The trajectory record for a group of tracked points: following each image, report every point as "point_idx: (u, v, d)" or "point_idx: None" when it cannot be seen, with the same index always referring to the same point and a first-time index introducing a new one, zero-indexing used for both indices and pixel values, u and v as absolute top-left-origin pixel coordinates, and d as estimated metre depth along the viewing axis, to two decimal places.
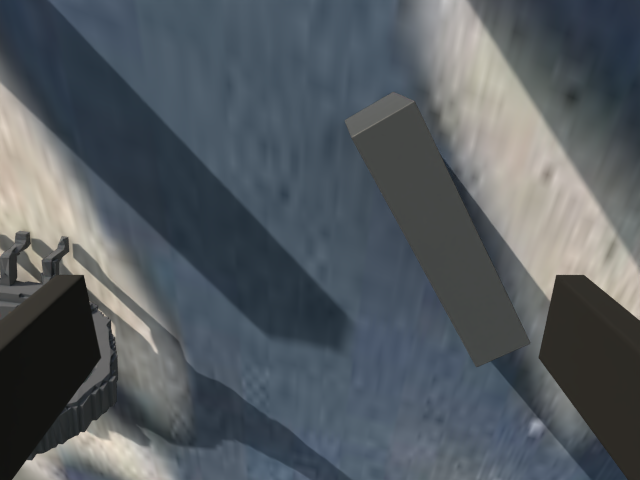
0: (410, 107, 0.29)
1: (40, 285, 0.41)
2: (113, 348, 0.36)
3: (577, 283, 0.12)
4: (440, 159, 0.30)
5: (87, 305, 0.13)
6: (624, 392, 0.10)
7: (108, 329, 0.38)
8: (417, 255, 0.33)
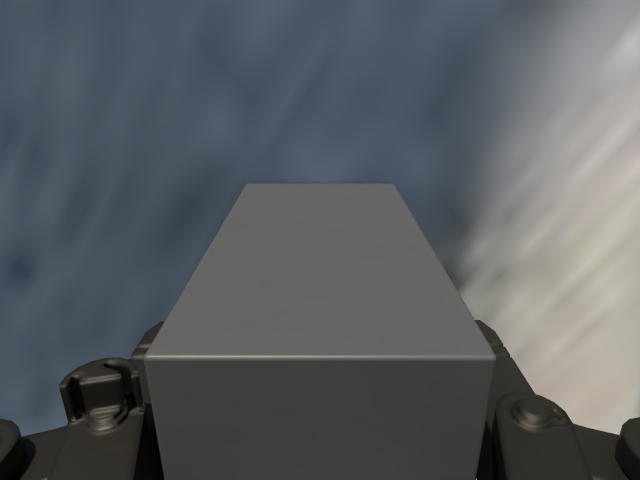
0: (466, 374, 0.06)
1: None
2: None
3: None
4: None
5: None
6: None
7: None
8: None
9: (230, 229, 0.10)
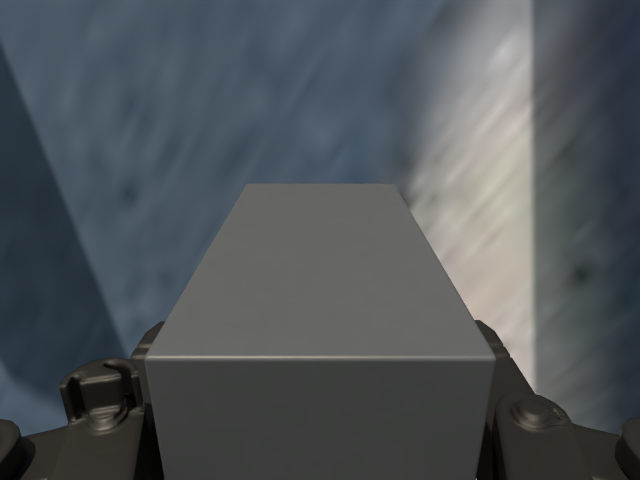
0: (466, 374, 0.06)
1: None
2: None
3: None
4: None
5: None
6: None
7: None
8: None
9: (230, 229, 0.10)
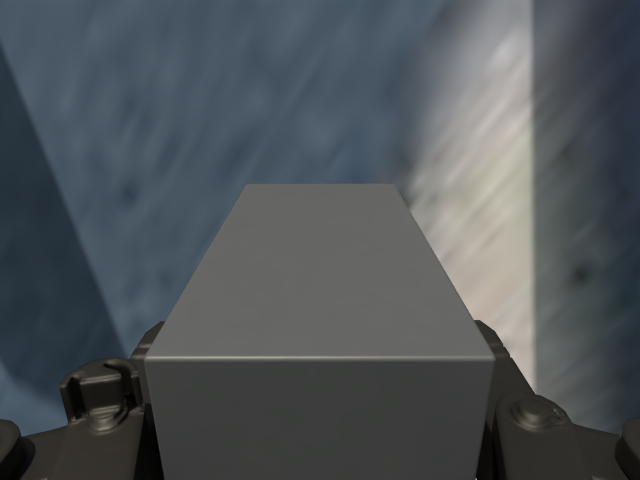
0: (465, 374, 0.06)
1: None
2: None
3: None
4: None
5: None
6: None
7: None
8: None
9: (230, 230, 0.10)
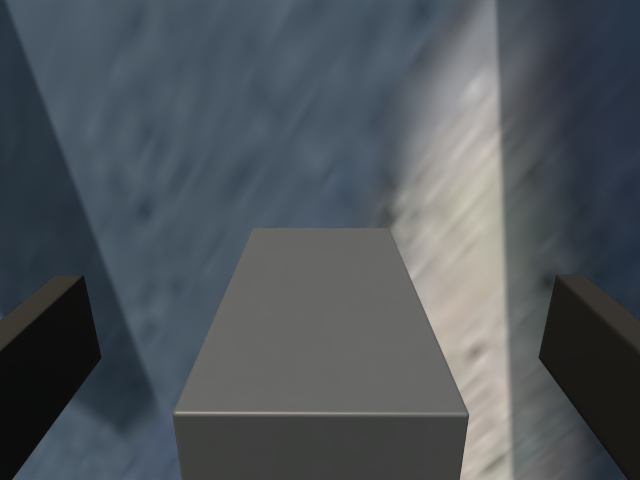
0: (443, 428, 0.07)
1: None
2: None
3: (577, 283, 0.12)
4: None
5: (87, 305, 0.13)
6: (624, 392, 0.10)
7: None
8: None
9: (240, 280, 0.11)
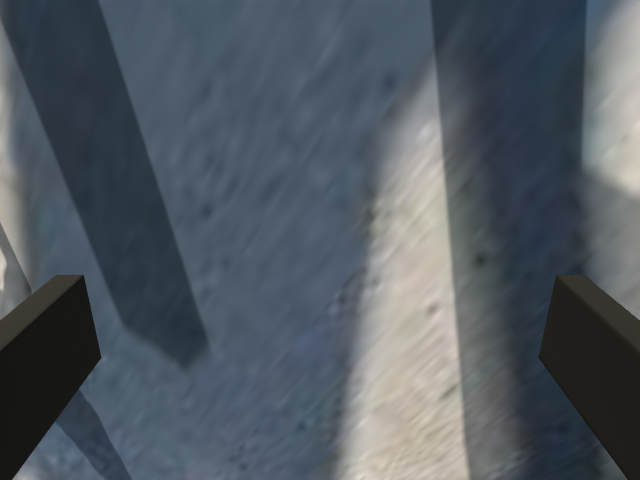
0: None
1: None
2: None
3: (577, 283, 0.12)
4: None
5: (87, 305, 0.13)
6: (624, 392, 0.10)
7: None
8: None
9: None
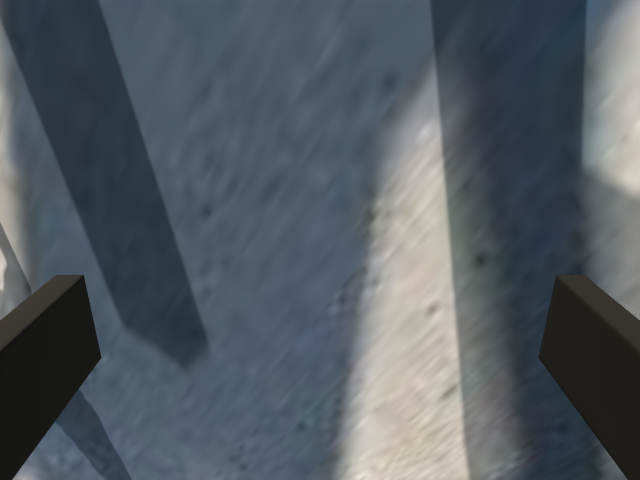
0: None
1: None
2: None
3: (577, 283, 0.12)
4: None
5: (87, 305, 0.13)
6: (624, 392, 0.10)
7: None
8: None
9: None
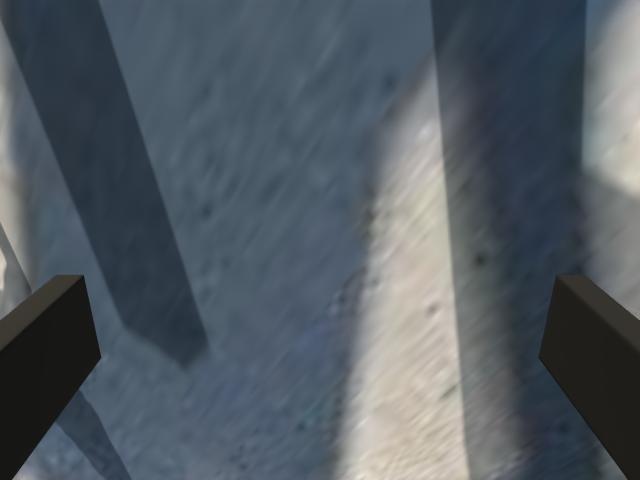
0: None
1: None
2: None
3: (577, 283, 0.12)
4: None
5: (87, 305, 0.13)
6: (624, 392, 0.10)
7: None
8: None
9: None
